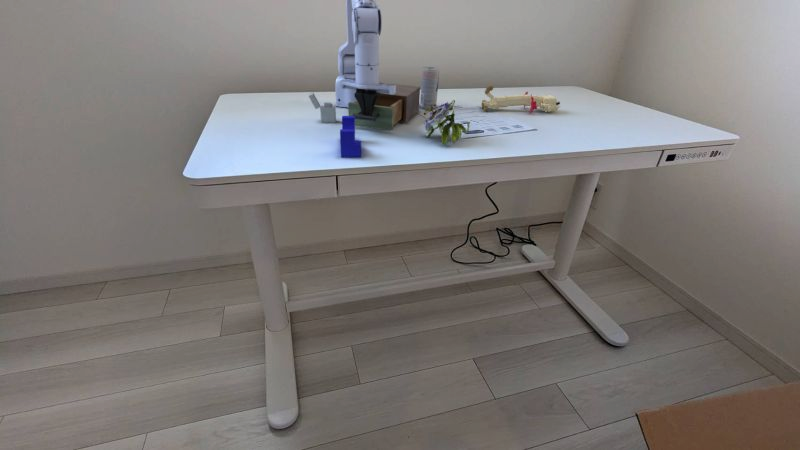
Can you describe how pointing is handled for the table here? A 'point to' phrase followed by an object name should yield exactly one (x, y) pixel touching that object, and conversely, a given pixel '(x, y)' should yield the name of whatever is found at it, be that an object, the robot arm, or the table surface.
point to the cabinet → (406, 100)
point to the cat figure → (520, 101)
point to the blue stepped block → (349, 138)
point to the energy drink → (429, 86)
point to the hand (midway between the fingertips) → (367, 119)
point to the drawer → (379, 113)
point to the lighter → (324, 110)
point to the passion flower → (440, 118)
